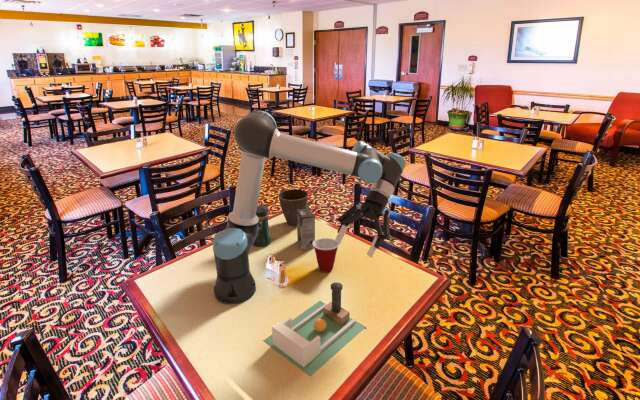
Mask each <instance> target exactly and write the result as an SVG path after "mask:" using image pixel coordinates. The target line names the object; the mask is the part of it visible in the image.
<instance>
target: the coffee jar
mask: <svg viewBox="0 0 640 400" xmlns="http://www.w3.org/2000/svg"><path fill="white" fill-rule="evenodd" d="M256 215H257V217H258V218H259V221H258V236H257V238H256V240H255V241H254V243H253V246H254V247H266V246H268V245H270V244H271V241H272V237H271V230H270V225H269V216H270V211H269V207H268V205H257V210H256ZM253 246H252V247H253Z"/></svg>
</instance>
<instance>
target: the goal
mask: <svg viewBox="0 0 640 400" xmlns="http://www.w3.org/2000/svg"><path fill="white" fill-rule="evenodd" d="M292 320H293V319H292V317H290V316H288V317H287V318H285V319H284V320H283V321H278V322H277V323H275V324H273V325H271V332H272V333H271V335H273V345H275V346H276V347H277V348H279V349H280V350H281V351H283V352H284V353H285V354H287V355H288V356H289V357H291V358H292V359H293V360H295V361H296V362H297V363H299V364H300V365H301V366H303V367H305V366H306V365H307V364H308V363H310V362H311V361H312V360H313V359H314V358H315V357H317V356H318V355H319V354H320V353H321V349H320V337H319V336H317V337H315V338H314V339H313V340H312V341H310V342H309V341H308V340H306V339H305V338H303V337H302V336H300V335H299V334H297V333H296V332H294V331H293V330H292Z"/></svg>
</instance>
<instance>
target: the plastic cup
mask: <svg viewBox="0 0 640 400" xmlns="http://www.w3.org/2000/svg"><path fill="white" fill-rule="evenodd" d="M335 239H336V238H335ZM335 239H334V238H329V237H321V238H317V239H315V241H313V243H312V244H313V247H314V248H313V249H314V252H315V256H316V257H315V258H316V263H317V266H318V270H319V271H320V272H322V273H330V272H331V271H333V270H334V266H335V261H336V256H337V251H338V249H339V246H340V245H339V244H337V243H336V242H335Z"/></svg>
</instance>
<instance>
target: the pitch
mask: <svg viewBox="0 0 640 400" xmlns="http://www.w3.org/2000/svg"><path fill="white" fill-rule="evenodd" d="M327 304H328V303H326V302H323V301H322V300H319V301H317V302H316V303H315V304H313V305H311V306H310V307H309V308H307V309H306V310H304V311H303V312H302V313H300V314H299V315H298V316H296V317H294V318H293V319H292V330H293V331H294V332H296V333H297V334H299V335H300V336H302V337H303V338H305V339H306V340H308V341H309V342H310V341H312V340H313V339H314V338H315V337H317V336H319V337H320V349H321V353H320V354H319V355H318V356H317V357H315V358H314V359H313V360H312V361H311V362H310V363H308V364H307V365H306V366H305V367H303V366H301V365H300V364H299V363H297V362H296V361H295V360H293V359H292V358H291V357H289V356H288V355H287V354H285V353H284V352H283V351H281V350H280V349H279V348H277V347H276V346H275V345H273V335H272V334H270V335H269V336H268V337H266V338H265V339H263V340H262V342H264V343H265V344H266V345H268V346H269V347H270V348H272V349H274V351H276V352H277V353H279V354H280V355H281V356H283V357H284V358H285V359H287V360H288V361H289V362H290V363H292V364H293V365H295V366H296V367H297V368H299V369H300V370H301V371H303V372H304V373H305V374H306V375H308V377H312V376H313V375H314V374H315V373H316V372H317V371H318V370H319V369H320V368H322V367H323V366H324V365H326V363H327V362H328V361H330V359H332V358H333V357H334V356H336V354H337V353H338V352H339V351H341V350H342V349H343V348H344V347H346V345H348V343H350V342H351V341H352V340H353V339H354V338H356V336H358V335H359V334H360V333H361V332H362V331H364V330H367V326H365V325H364V324H362V323H360V322H358V321H357V320H355V319H353V318H352V317H350V318H349V320H348V321H347V322H346V323H344V324H343V325H342V326H341V325H340V324H338V323H336V322H335V321H333V320H331V319H330V318H328V317H326V316H325V315H323V307H324V306H326V305H327ZM317 319H323V320H325V322H326V329H325V330H324V331H322V332H318V331H316V330H315V328H314V322H315V321H316V320H317Z"/></svg>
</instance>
